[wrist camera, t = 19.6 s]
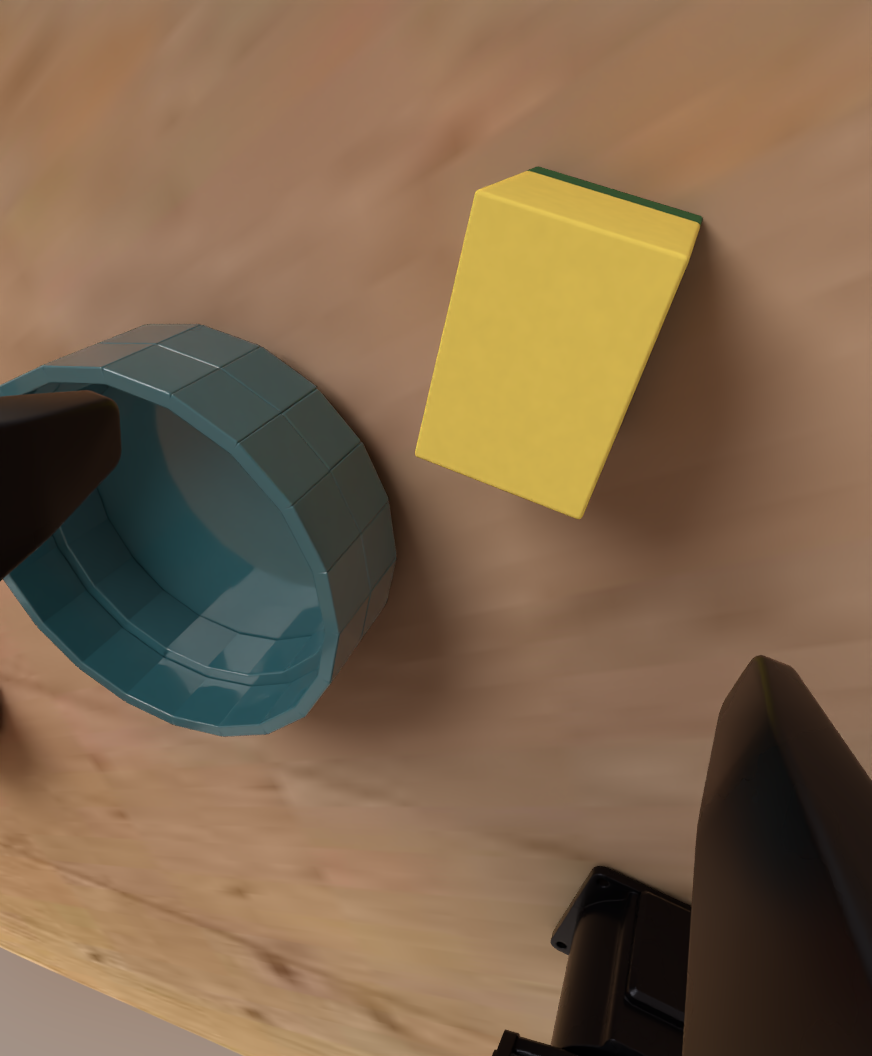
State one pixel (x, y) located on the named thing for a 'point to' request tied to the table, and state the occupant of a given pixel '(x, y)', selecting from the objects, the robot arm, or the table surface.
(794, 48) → the table surface
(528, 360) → the sponge
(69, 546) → the bowl
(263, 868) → the table surface
